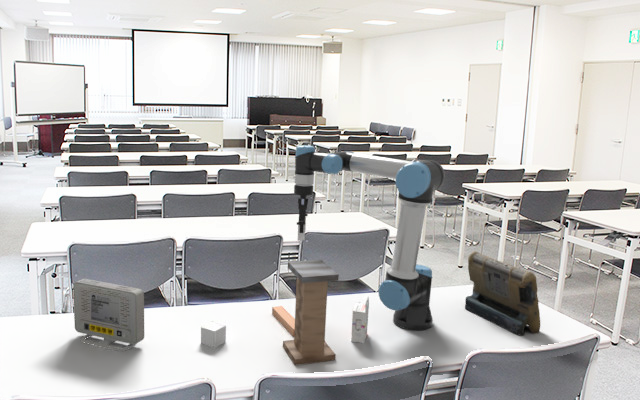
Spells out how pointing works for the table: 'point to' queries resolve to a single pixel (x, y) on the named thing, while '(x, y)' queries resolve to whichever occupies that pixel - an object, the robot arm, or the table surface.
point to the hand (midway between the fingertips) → (301, 236)
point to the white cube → (213, 334)
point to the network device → (109, 313)
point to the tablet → (503, 294)
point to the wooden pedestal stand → (310, 312)
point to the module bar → (284, 318)
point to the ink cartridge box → (360, 322)
